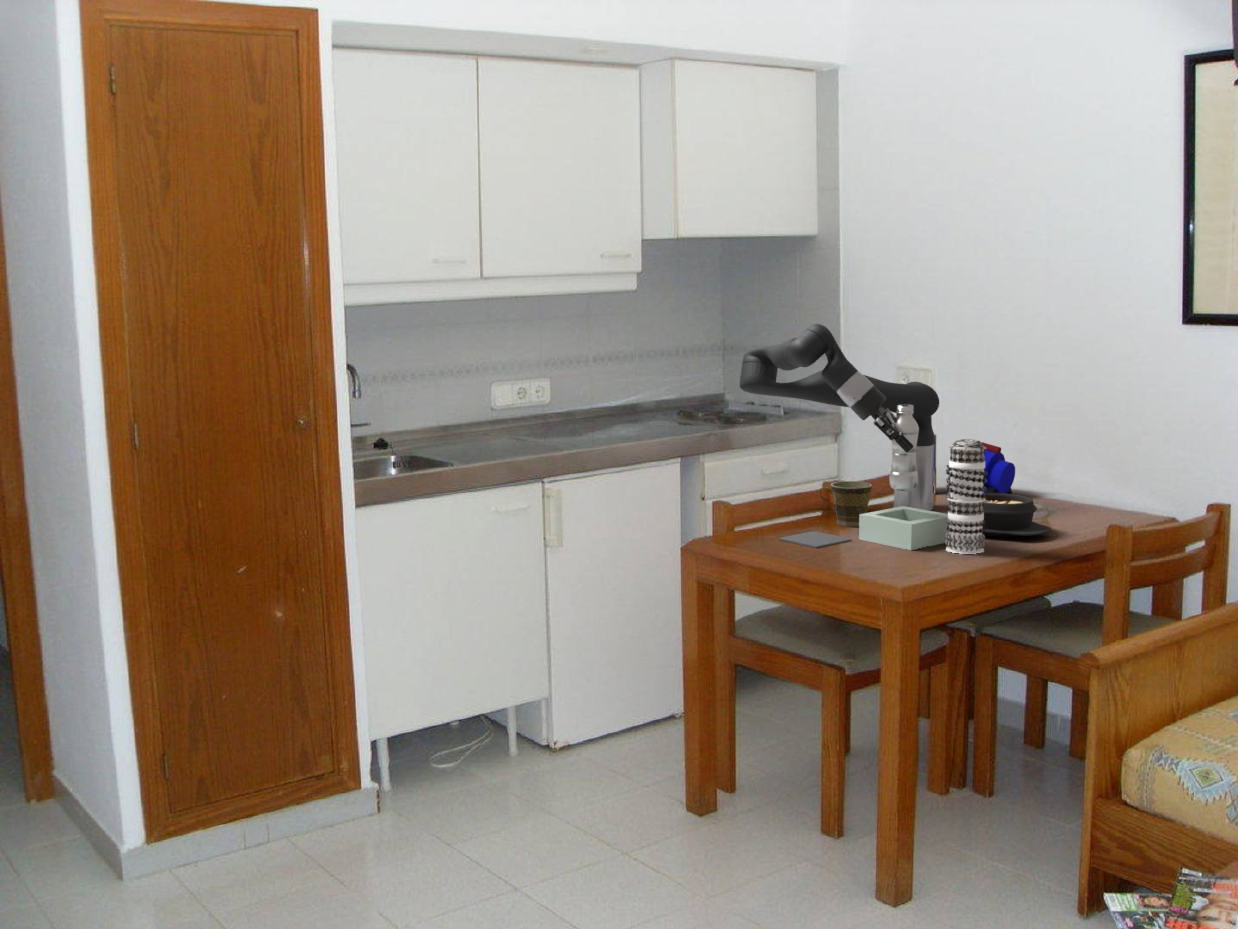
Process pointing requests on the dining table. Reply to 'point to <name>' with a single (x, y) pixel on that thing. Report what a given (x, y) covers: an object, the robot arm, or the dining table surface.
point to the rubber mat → (815, 539)
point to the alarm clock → (997, 471)
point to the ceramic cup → (849, 501)
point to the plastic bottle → (904, 462)
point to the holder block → (903, 527)
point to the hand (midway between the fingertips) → (911, 447)
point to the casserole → (1010, 516)
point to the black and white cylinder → (966, 497)
